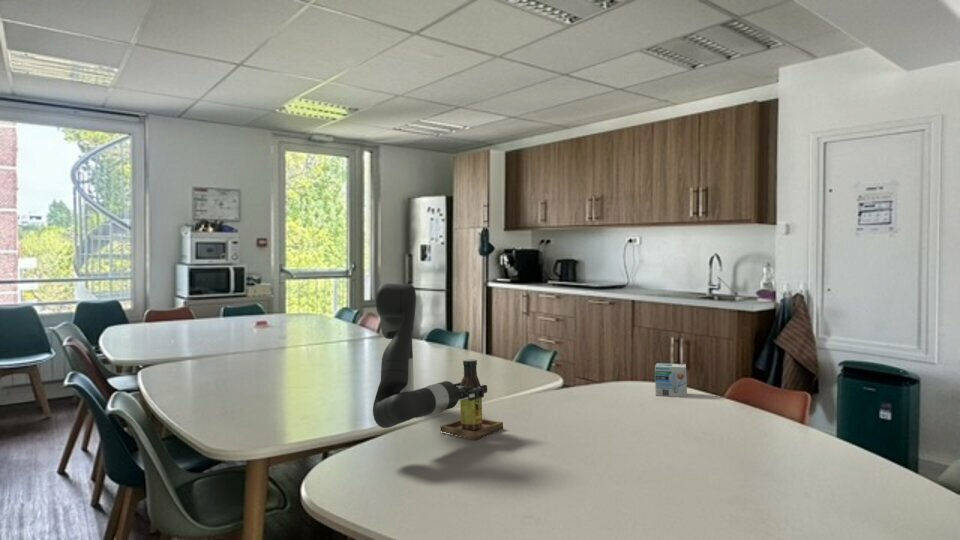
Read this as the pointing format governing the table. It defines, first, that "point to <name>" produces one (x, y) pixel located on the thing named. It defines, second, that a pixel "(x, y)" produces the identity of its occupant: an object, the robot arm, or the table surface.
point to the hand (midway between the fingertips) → (474, 387)
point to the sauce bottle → (473, 408)
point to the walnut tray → (486, 429)
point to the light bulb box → (670, 380)
